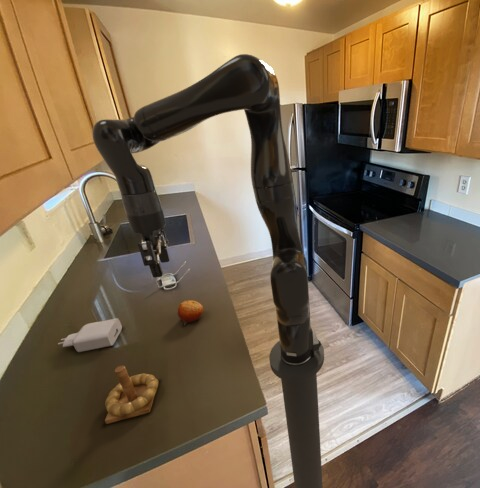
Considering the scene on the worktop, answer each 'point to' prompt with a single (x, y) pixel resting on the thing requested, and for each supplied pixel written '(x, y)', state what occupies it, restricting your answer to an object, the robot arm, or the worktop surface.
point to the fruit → (190, 311)
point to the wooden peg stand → (129, 395)
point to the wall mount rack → (170, 279)
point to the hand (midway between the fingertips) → (162, 268)
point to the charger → (94, 335)
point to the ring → (127, 408)
